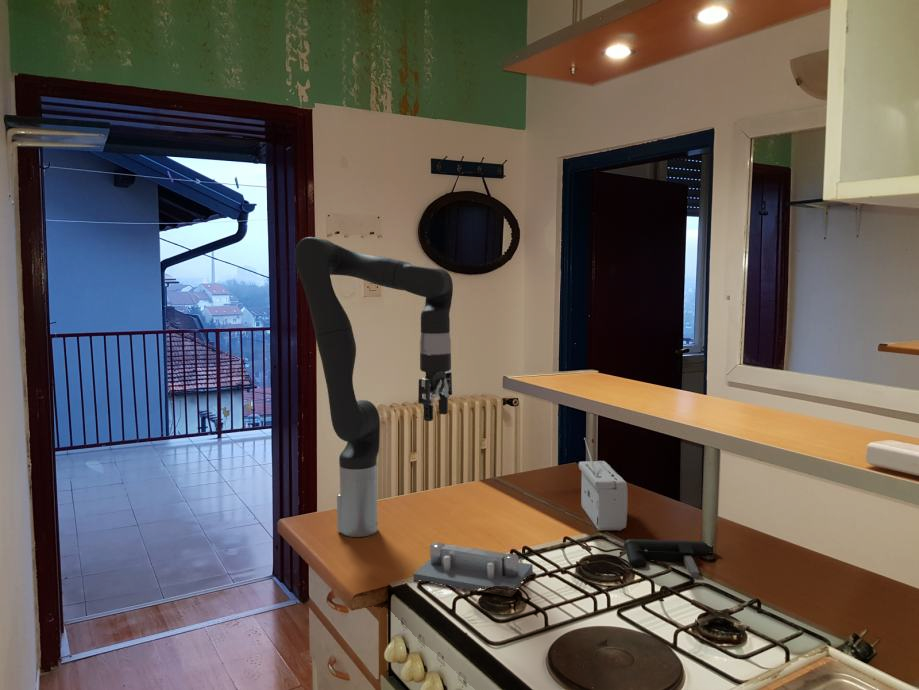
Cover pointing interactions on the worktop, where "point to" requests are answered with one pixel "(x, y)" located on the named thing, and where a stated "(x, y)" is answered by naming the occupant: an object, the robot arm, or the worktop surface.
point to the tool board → (469, 576)
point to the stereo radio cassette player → (603, 495)
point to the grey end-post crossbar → (475, 559)
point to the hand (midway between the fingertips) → (436, 417)
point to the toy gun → (666, 552)
